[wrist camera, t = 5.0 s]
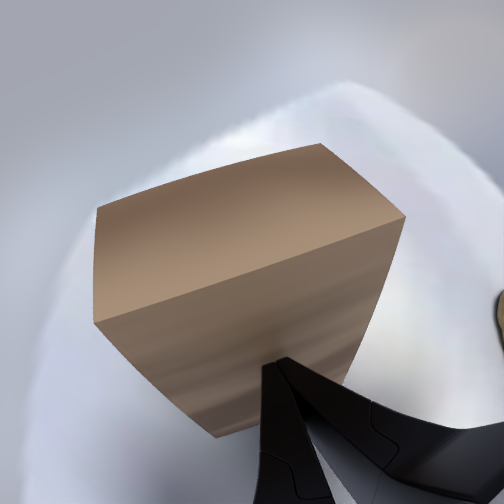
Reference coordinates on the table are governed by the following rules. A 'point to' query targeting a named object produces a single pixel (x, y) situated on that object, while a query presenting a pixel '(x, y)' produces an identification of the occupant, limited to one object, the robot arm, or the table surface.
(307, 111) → the table surface
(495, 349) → the table surface
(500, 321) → the pastry
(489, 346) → the table surface
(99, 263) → the block
